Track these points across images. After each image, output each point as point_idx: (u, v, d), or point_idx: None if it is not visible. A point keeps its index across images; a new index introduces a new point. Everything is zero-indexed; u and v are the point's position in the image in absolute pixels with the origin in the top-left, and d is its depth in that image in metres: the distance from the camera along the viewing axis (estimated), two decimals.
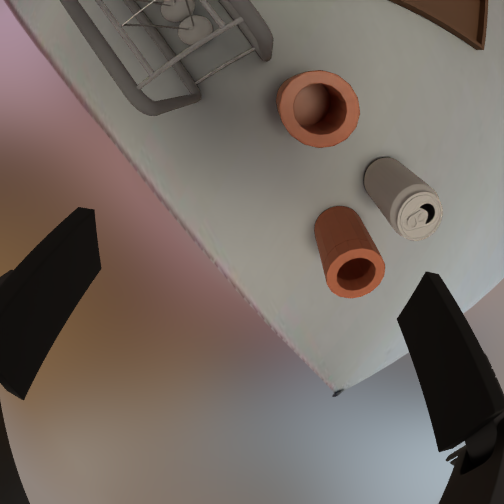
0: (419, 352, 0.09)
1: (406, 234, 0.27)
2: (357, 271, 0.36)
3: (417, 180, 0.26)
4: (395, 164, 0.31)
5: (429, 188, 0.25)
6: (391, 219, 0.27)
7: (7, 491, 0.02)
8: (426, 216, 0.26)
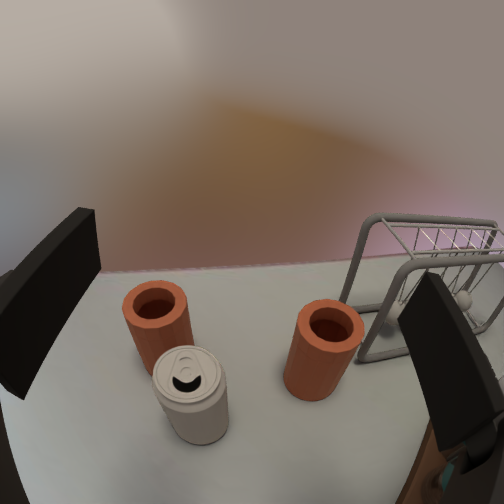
0: (419, 352, 0.09)
1: (173, 352, 0.23)
2: None
3: (222, 400, 0.22)
4: (226, 419, 0.26)
5: (213, 400, 0.21)
6: None
7: (7, 491, 0.02)
8: (182, 380, 0.21)
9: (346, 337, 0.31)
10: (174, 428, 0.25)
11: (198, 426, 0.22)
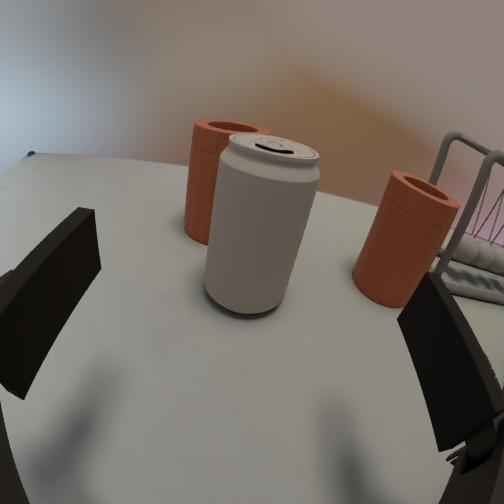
0: (419, 352, 0.09)
1: (258, 136, 0.19)
2: None
3: (311, 196, 0.17)
4: (291, 269, 0.20)
5: (306, 176, 0.16)
6: (281, 151, 0.20)
7: (6, 490, 0.02)
8: (268, 146, 0.16)
9: None
10: (210, 270, 0.20)
11: (262, 236, 0.17)
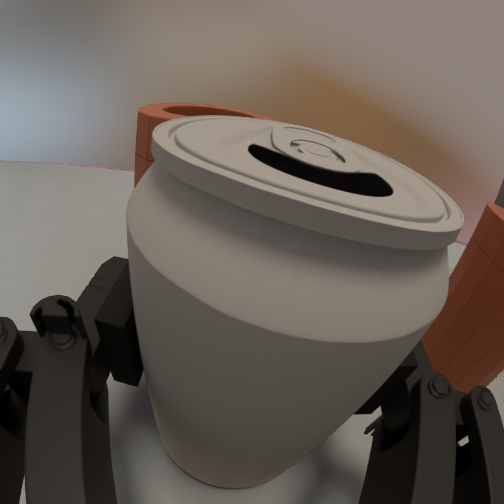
0: None
1: (260, 125, 0.07)
2: None
3: None
4: None
5: (441, 291, 0.04)
6: None
7: (106, 500, 0.03)
8: (301, 158, 0.04)
9: None
10: (159, 430, 0.08)
11: (270, 446, 0.05)
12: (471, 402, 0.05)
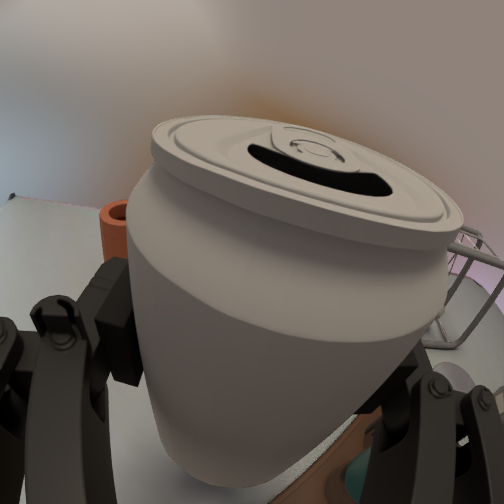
0: None
1: (259, 125, 0.07)
2: None
3: None
4: None
5: (441, 291, 0.04)
6: None
7: (106, 500, 0.03)
8: (300, 158, 0.04)
9: None
10: (159, 430, 0.08)
11: (270, 446, 0.05)
12: (471, 402, 0.05)
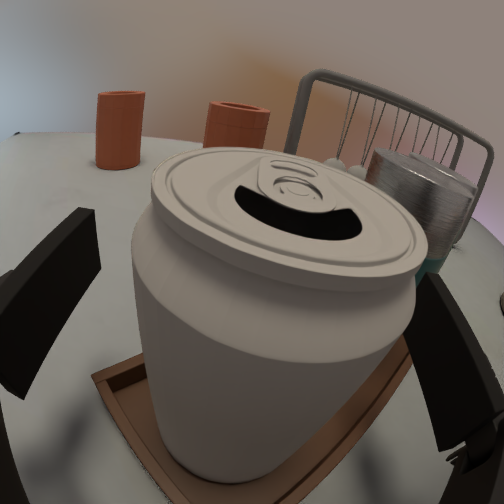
0: (419, 352, 0.09)
1: (250, 154, 0.08)
2: None
3: None
4: None
5: (401, 317, 0.04)
6: None
7: (6, 490, 0.02)
8: (280, 201, 0.05)
9: None
10: (160, 429, 0.09)
11: (257, 443, 0.06)
12: None
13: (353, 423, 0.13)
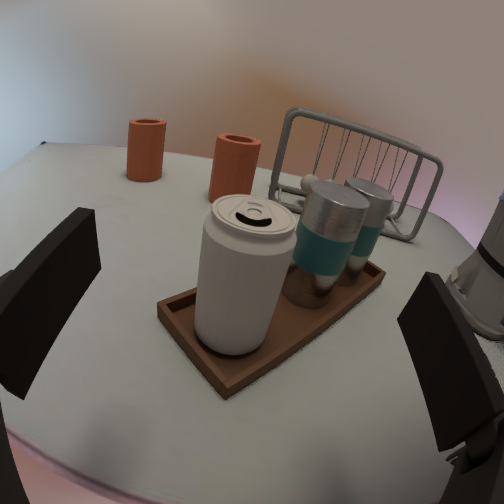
0: (419, 352, 0.09)
1: (241, 197, 0.21)
2: None
3: (286, 262, 0.19)
4: (270, 318, 0.22)
5: (281, 248, 0.18)
6: None
7: (6, 490, 0.02)
8: (248, 216, 0.18)
9: None
10: (198, 318, 0.22)
11: (242, 298, 0.19)
12: None
13: None
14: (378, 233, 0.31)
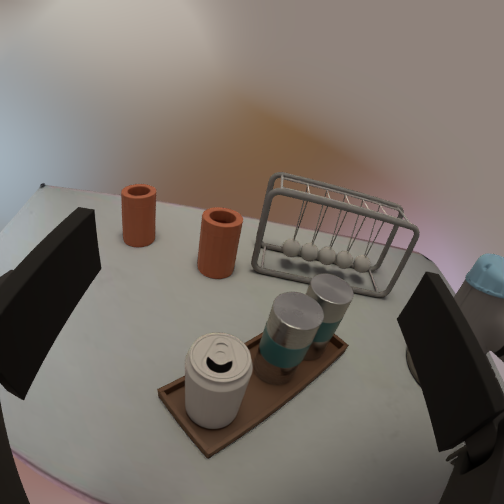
0: (419, 352, 0.09)
1: (212, 336, 0.27)
2: None
3: (244, 387, 0.25)
4: (237, 409, 0.28)
5: (238, 385, 0.24)
6: None
7: (6, 491, 0.02)
8: (215, 361, 0.25)
9: None
10: (187, 407, 0.28)
11: (214, 407, 0.25)
12: None
13: None
14: (337, 324, 0.37)
